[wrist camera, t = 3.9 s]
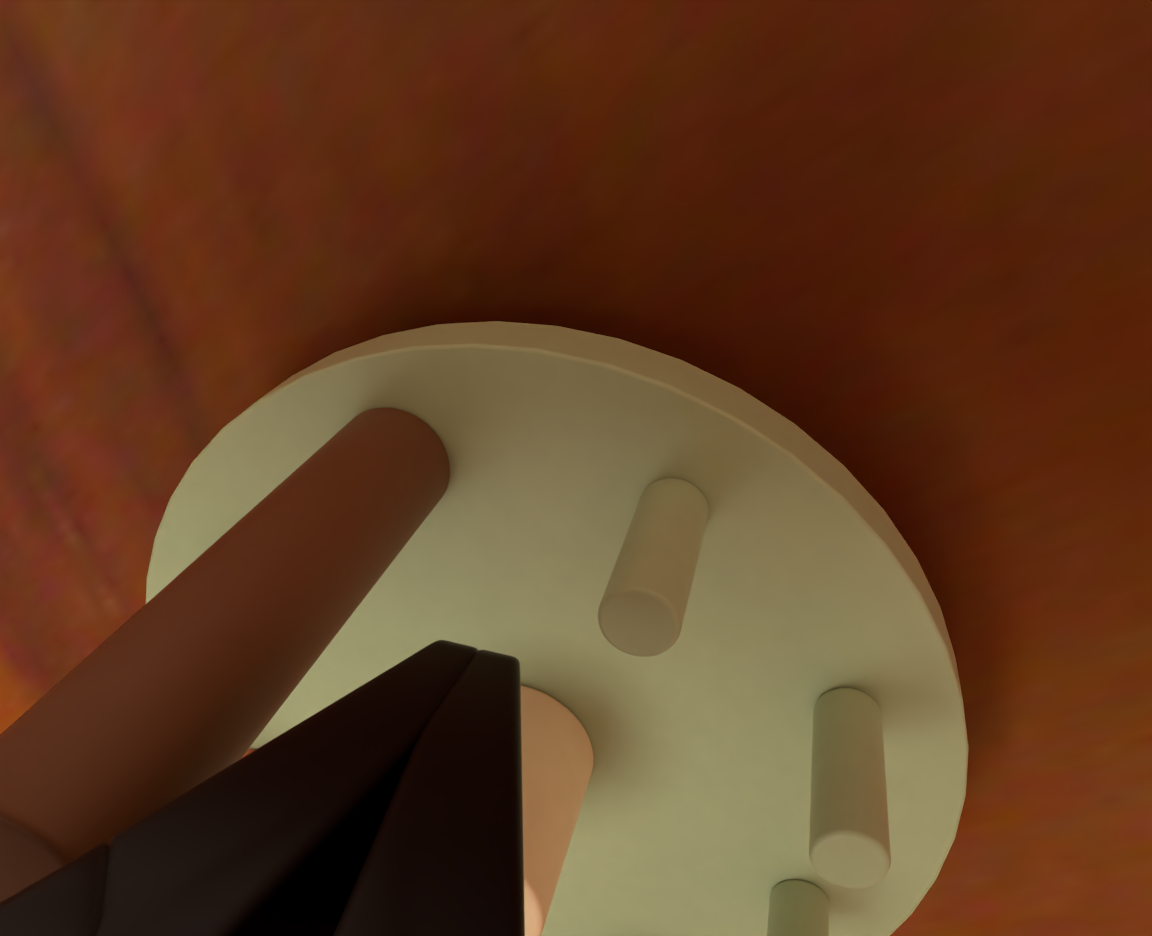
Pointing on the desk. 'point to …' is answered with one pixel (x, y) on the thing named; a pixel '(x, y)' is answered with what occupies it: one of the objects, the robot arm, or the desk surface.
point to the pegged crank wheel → (543, 632)
